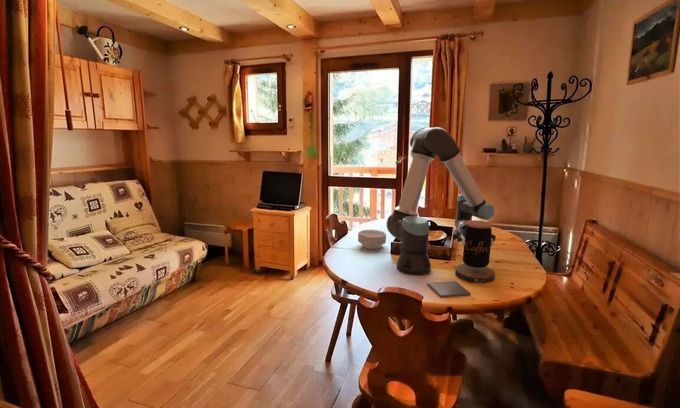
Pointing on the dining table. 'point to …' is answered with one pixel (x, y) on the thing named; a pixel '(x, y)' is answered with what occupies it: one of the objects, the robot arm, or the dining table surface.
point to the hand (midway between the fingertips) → (478, 242)
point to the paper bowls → (371, 238)
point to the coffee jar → (477, 243)
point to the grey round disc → (474, 274)
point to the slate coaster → (448, 289)
